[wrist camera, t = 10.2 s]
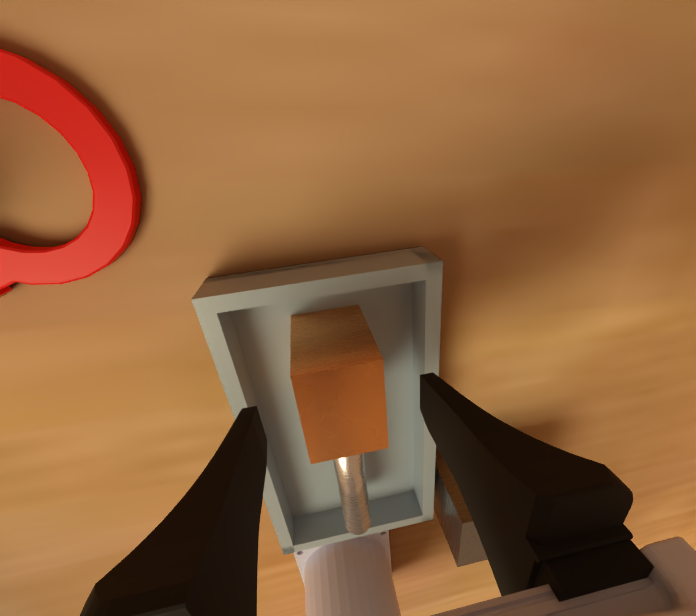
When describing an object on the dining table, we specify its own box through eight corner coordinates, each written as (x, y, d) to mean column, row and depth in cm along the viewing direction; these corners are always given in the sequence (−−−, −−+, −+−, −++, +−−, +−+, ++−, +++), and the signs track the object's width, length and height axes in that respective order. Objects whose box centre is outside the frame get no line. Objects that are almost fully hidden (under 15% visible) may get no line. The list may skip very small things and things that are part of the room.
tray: (420, 487, 25) (433, 519, 23) (284, 518, 24) (283, 554, 22) (422, 246, 16) (443, 260, 14) (205, 278, 15) (191, 299, 13)
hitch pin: (375, 484, 23) (395, 561, 19) (328, 495, 23) (336, 576, 19) (358, 304, 17) (383, 359, 12) (290, 315, 16) (290, 376, 12)
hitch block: (506, 471, 26) (554, 542, 22) (426, 490, 26) (457, 567, 21) (514, 429, 24) (570, 497, 19) (427, 448, 23) (462, 523, 19)
